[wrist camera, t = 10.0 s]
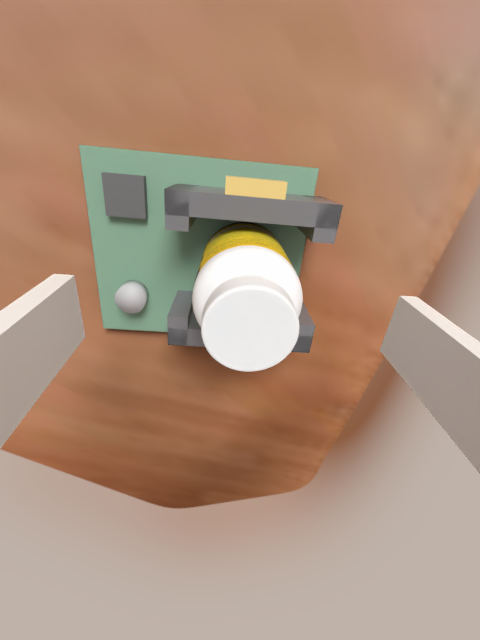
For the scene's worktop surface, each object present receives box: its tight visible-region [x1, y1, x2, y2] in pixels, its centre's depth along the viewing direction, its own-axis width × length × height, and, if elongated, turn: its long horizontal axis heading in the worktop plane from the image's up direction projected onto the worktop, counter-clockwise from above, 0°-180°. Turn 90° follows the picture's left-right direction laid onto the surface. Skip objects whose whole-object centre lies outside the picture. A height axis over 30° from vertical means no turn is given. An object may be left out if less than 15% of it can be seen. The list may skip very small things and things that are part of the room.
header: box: [164, 175, 343, 353], centre depth 19 cm, size 9×10×4 cm
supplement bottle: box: [192, 221, 303, 372], centre depth 16 cm, size 5×5×10 cm
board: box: [79, 145, 319, 332], centre depth 20 cm, size 14×12×2 cm
